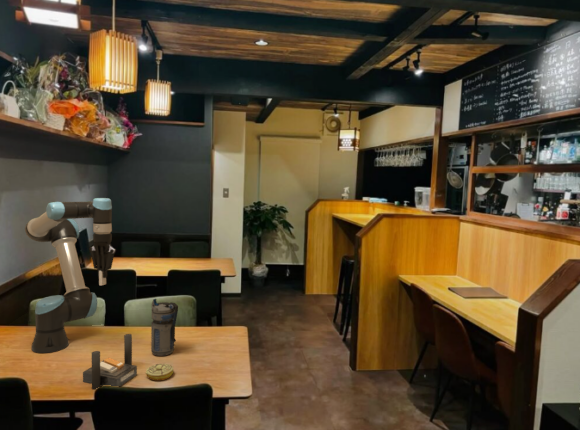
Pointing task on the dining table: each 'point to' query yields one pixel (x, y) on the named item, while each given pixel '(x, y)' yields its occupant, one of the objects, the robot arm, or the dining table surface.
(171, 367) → the decorated donut
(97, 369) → the post near
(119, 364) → the paddle orange
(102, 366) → the paddle ivory
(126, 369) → the breaker box
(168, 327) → the beverage bottle
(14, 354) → the dining table surface
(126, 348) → the post far
